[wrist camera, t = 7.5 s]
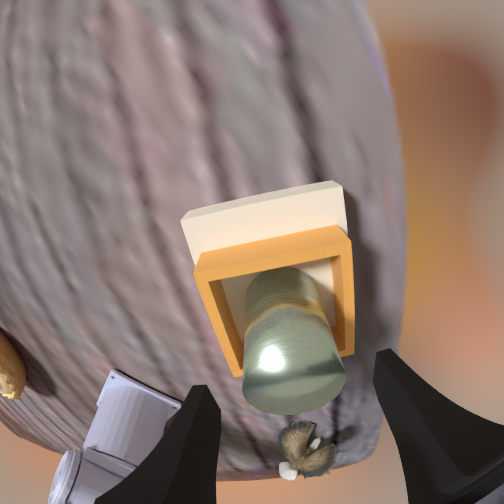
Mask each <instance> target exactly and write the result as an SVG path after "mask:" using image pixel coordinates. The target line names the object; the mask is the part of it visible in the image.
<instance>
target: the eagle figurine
mask: <svg viewBox="0 0 504 504" xmlns="http://www.w3.org/2000/svg"><path fill="white" fill-rule="evenodd" d="M314 426H315V424H312V423H311V422H307V421H306V420H304V421H298V422H297V423H293V424H291V426H287V427H286V429H285V428H284V429H283V430H282V431H281V433H280V434H279V437H278V439H279V442H278V443H279V452H280V453H281V455H282V456H283V457H285V458H286V459H288V461H290V462H281V463H280V464H279V473H280V476H281V477H282V478H284V479H287V480H295V479H296V477H297V475H299V474H300V473H302V474H303V476H304V478H305V479H306V477H312V476H321V475H323V473H327V474H330V472H329V471H328V469H330V467H331V466H332V465H333V462H334V461H335V457H336V452H337V448H336V445H334V443H332V444H329V445H327V446H325V447H322V448H319V449H317V447H318V446H319V443H320V441H321V440H320V439H321V436H319V437H318V438H316V439H315V440H314V441H313V442H312V443H311V444H310V445H309V446H308V447H307V442H308V439H309V436H310V434H311V433H312V430H313V429H314ZM316 449H317V450H316ZM298 470H299V471H298Z"/></svg>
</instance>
